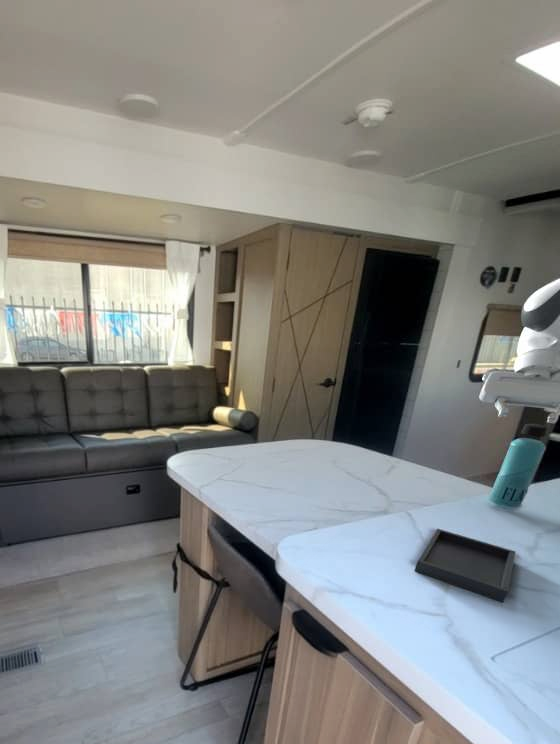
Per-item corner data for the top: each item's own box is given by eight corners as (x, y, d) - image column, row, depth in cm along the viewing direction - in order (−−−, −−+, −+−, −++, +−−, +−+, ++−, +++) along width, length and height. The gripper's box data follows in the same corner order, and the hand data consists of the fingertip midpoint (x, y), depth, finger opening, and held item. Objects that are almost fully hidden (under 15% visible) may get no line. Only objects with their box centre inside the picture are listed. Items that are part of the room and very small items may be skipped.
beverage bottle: (492, 511, 94) (527, 426, 86) (480, 500, 100) (512, 420, 92) (524, 515, 93) (563, 429, 84) (510, 504, 99) (545, 422, 90)
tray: (434, 537, 82) (437, 528, 81) (511, 561, 74) (515, 551, 74) (414, 571, 70) (417, 560, 69) (502, 602, 63) (508, 591, 62)
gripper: (489, 359, 101) (479, 404, 98) (596, 366, 93) (589, 416, 89) (480, 376, 107) (471, 420, 103) (581, 384, 98) (574, 432, 95)
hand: (526, 418), depth 96 cm, fingers open, 8 cm apart
